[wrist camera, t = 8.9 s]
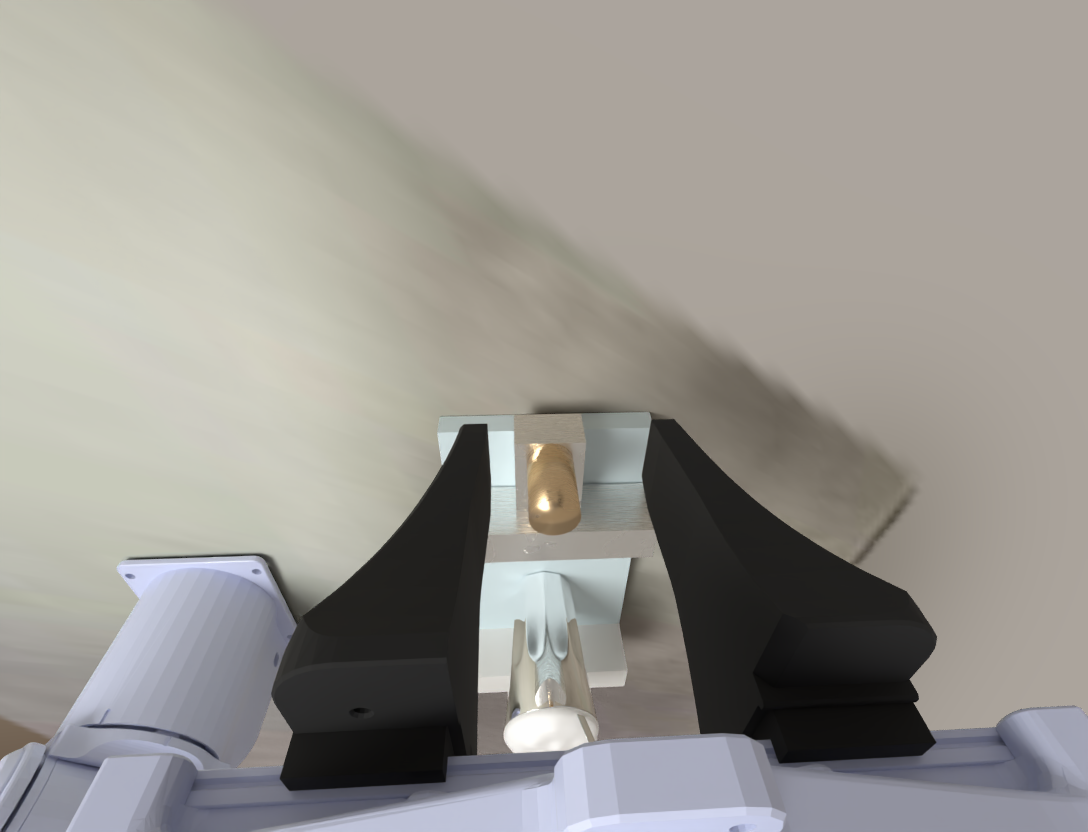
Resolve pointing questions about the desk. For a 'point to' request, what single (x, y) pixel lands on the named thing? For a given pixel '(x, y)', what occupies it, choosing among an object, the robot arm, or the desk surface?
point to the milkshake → (547, 671)
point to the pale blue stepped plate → (592, 581)
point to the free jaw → (563, 501)
